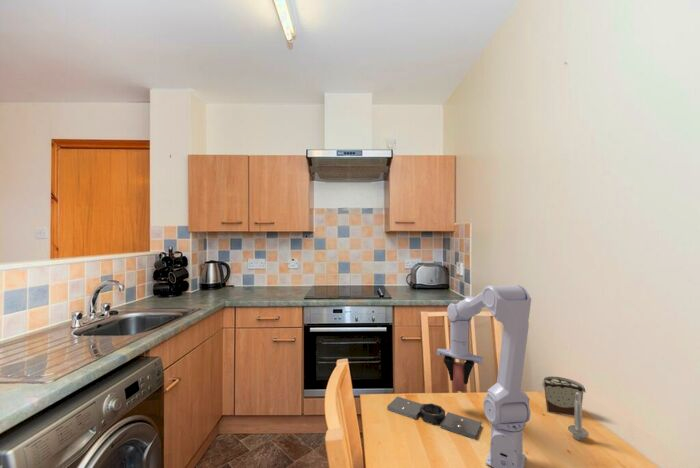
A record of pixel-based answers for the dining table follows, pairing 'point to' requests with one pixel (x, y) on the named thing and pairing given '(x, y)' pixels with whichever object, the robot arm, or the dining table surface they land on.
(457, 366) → the hinge pin
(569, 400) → the food container
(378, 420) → the dining table surface
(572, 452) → the dining table surface
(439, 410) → the hinge
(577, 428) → the screw
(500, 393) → the robot arm
